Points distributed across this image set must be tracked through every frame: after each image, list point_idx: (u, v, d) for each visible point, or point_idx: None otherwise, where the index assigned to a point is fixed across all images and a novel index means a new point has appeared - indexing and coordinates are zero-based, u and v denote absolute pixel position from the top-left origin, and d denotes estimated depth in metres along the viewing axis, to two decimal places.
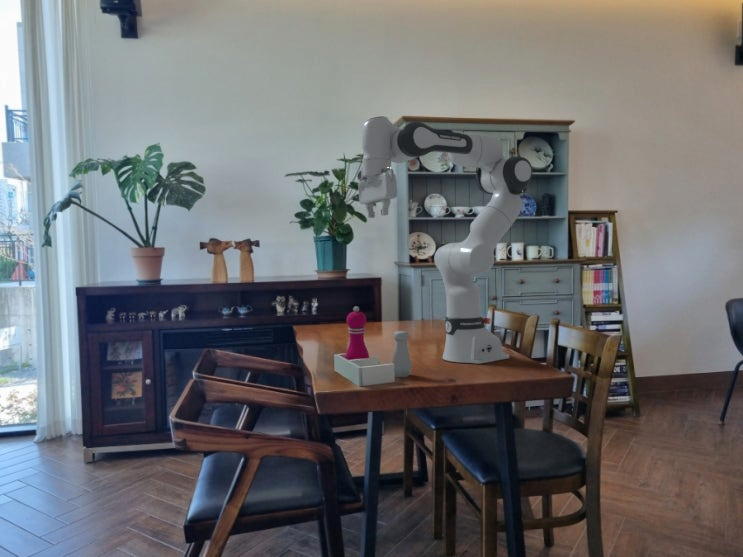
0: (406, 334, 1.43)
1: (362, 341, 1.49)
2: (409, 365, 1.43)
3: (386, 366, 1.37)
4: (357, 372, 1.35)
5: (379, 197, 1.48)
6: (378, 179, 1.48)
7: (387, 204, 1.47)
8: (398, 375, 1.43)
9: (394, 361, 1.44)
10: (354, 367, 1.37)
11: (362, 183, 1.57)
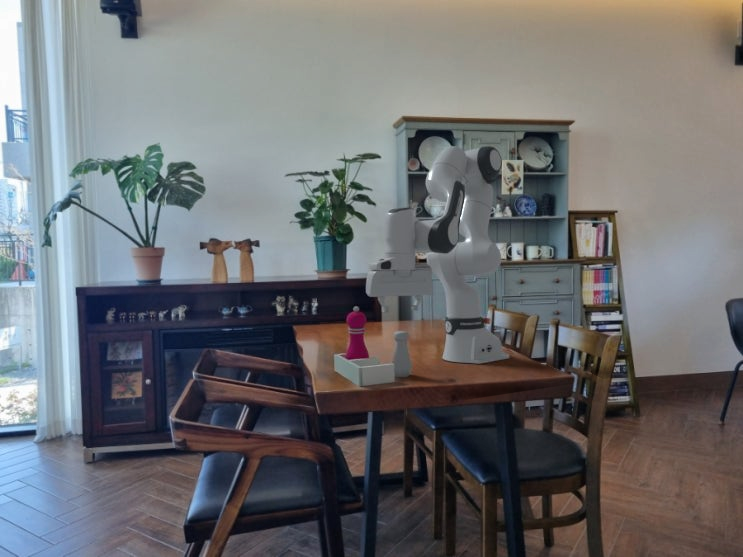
0: (406, 334, 1.43)
1: (362, 341, 1.49)
2: (409, 365, 1.43)
3: (386, 366, 1.37)
4: (357, 372, 1.35)
5: (418, 293, 1.44)
6: (417, 275, 1.44)
7: None
8: (398, 375, 1.43)
9: (394, 361, 1.44)
10: (354, 367, 1.37)
11: (385, 274, 1.39)
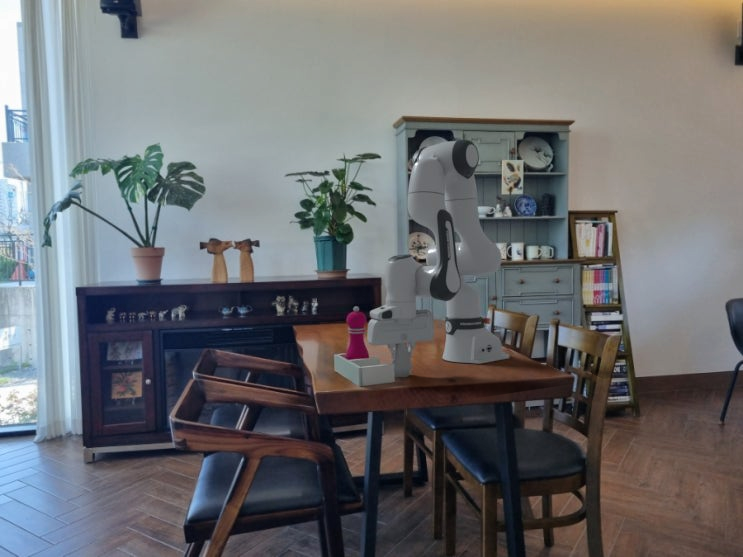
0: (406, 334, 1.43)
1: (362, 341, 1.49)
2: (409, 365, 1.43)
3: (386, 366, 1.37)
4: (357, 372, 1.35)
5: (419, 340, 1.45)
6: (418, 321, 1.44)
7: None
8: (398, 375, 1.43)
9: (394, 361, 1.44)
10: (354, 367, 1.37)
11: (386, 323, 1.40)
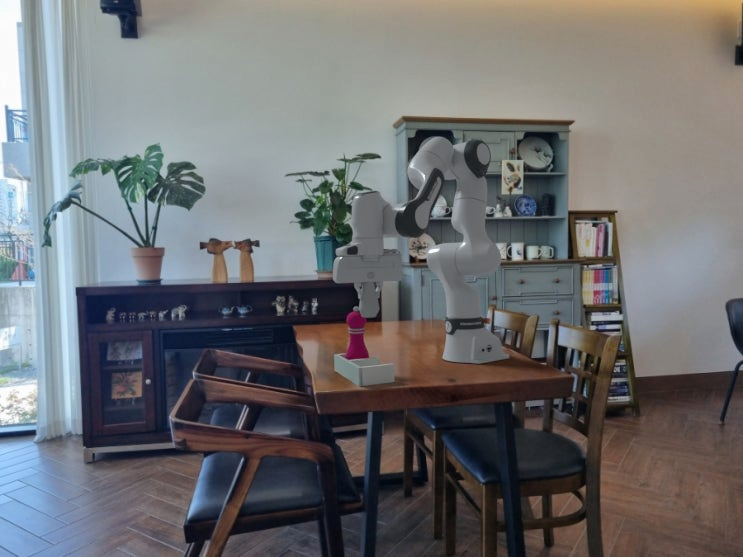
0: (373, 273, 1.39)
1: (362, 341, 1.49)
2: (376, 305, 1.39)
3: (386, 366, 1.37)
4: (357, 372, 1.35)
5: (387, 279, 1.40)
6: (385, 260, 1.40)
7: None
8: (365, 315, 1.39)
9: (361, 301, 1.39)
10: (354, 367, 1.37)
11: (351, 260, 1.35)
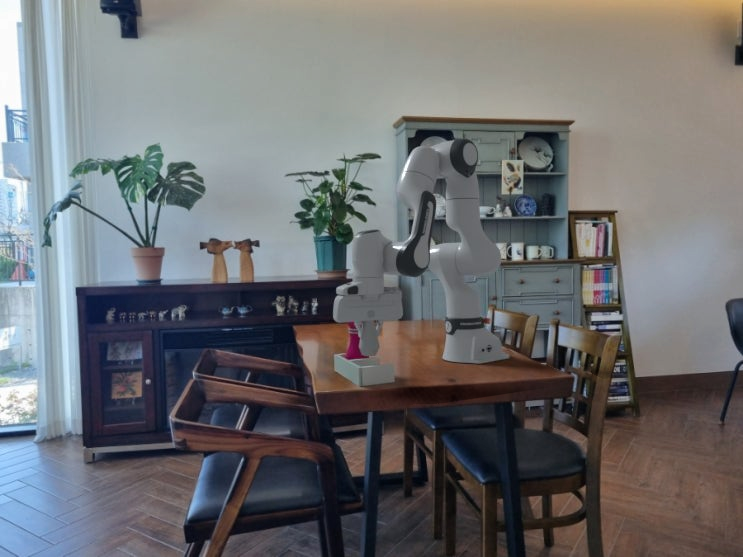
0: (373, 311, 1.39)
1: None
2: (376, 343, 1.39)
3: (386, 366, 1.37)
4: (357, 372, 1.35)
5: (387, 317, 1.41)
6: (386, 298, 1.40)
7: None
8: (365, 354, 1.39)
9: (361, 339, 1.39)
10: (354, 367, 1.37)
11: (352, 299, 1.36)
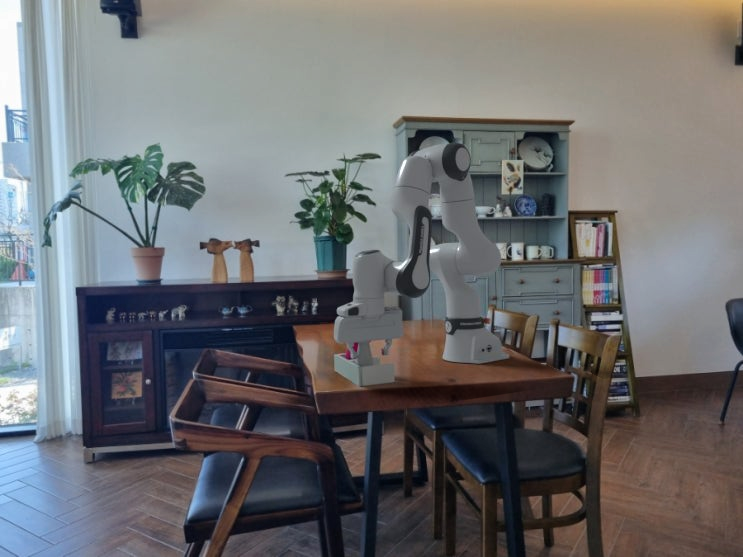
0: None
1: None
2: None
3: (386, 366, 1.37)
4: (357, 372, 1.35)
5: (388, 337, 1.41)
6: (386, 319, 1.41)
7: None
8: None
9: None
10: (354, 367, 1.37)
11: (352, 320, 1.36)
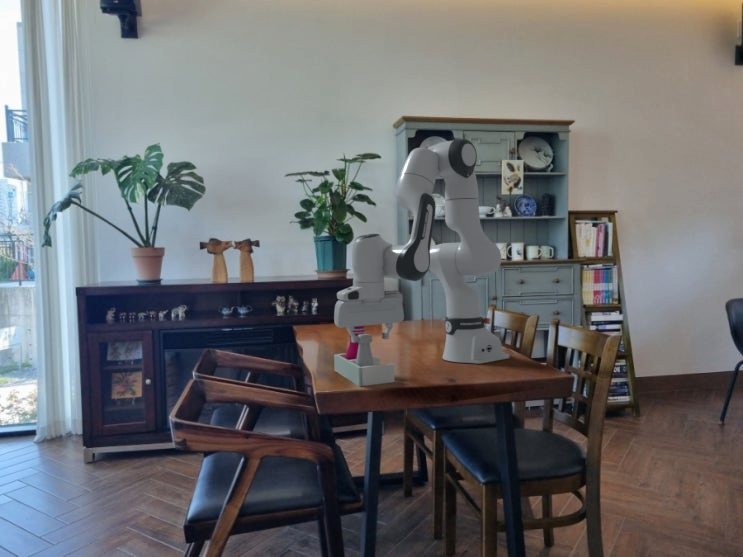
0: (369, 337, 1.39)
1: None
2: None
3: (386, 366, 1.37)
4: (357, 372, 1.35)
5: (388, 321, 1.41)
6: (386, 302, 1.41)
7: None
8: None
9: None
10: (354, 367, 1.37)
11: (352, 304, 1.36)
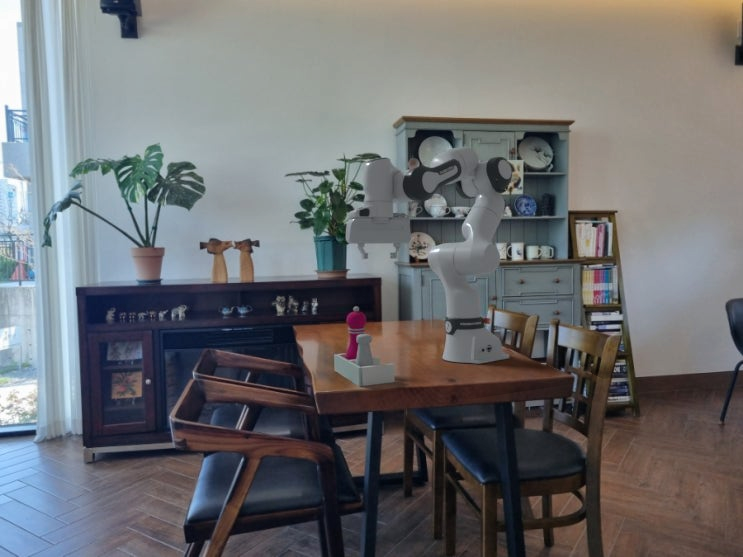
0: (369, 337, 1.39)
1: None
2: None
3: (386, 366, 1.37)
4: (357, 372, 1.35)
5: (396, 241, 1.50)
6: (395, 223, 1.49)
7: None
8: None
9: None
10: (354, 367, 1.37)
11: (363, 221, 1.45)
